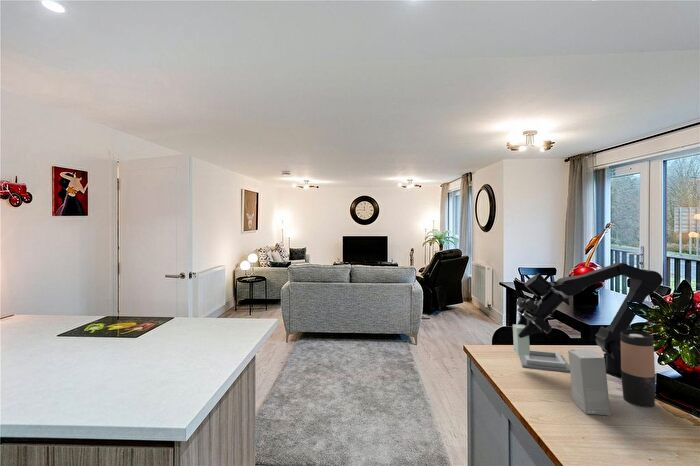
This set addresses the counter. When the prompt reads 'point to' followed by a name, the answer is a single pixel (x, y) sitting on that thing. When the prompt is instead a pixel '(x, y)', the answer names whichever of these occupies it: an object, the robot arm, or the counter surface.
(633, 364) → the travel mug
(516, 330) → the rectangular block
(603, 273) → the robot arm
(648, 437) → the counter surface
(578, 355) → the skincare box
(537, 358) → the charging dock
